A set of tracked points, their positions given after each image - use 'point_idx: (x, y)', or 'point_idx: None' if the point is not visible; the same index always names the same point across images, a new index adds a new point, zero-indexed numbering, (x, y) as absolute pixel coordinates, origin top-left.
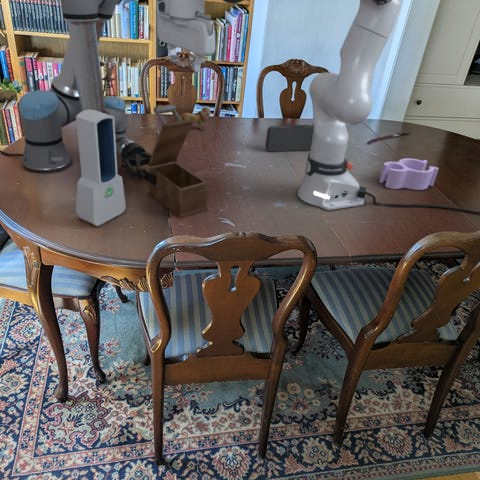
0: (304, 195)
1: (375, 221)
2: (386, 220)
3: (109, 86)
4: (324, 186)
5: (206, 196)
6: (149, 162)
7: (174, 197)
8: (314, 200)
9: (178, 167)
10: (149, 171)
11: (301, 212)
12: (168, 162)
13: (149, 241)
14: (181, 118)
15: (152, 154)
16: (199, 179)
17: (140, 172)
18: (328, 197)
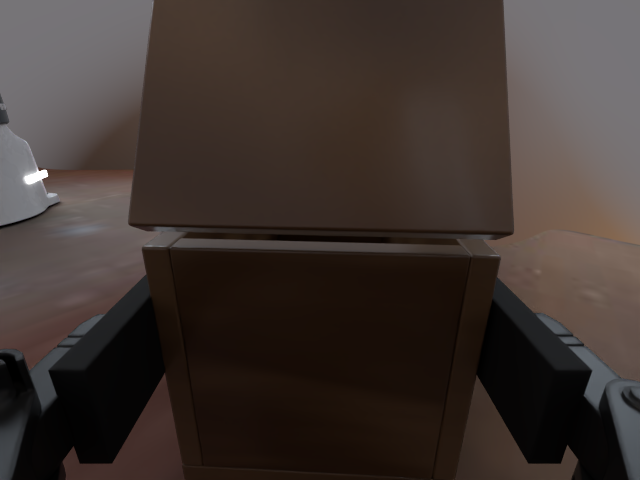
0: (16, 205)
1: (68, 182)
2: (54, 180)
3: None
4: (27, 151)
5: None
6: (508, 182)
7: None
8: (38, 198)
9: (210, 233)
10: (488, 293)
11: (102, 210)
12: (33, 436)
13: (526, 248)
14: None
15: (501, 45)
16: None
17: (605, 375)
18: (46, 172)
